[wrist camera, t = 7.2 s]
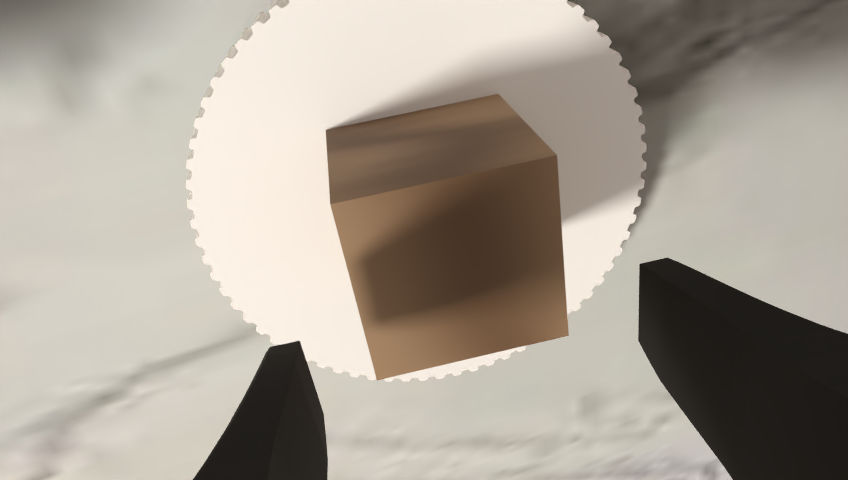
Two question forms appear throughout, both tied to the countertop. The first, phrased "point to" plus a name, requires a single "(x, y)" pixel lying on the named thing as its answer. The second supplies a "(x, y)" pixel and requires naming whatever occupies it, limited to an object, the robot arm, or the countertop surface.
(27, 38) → the countertop surface
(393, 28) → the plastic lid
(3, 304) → the countertop surface
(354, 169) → the walnut cube
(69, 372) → the countertop surface
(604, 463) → the countertop surface
